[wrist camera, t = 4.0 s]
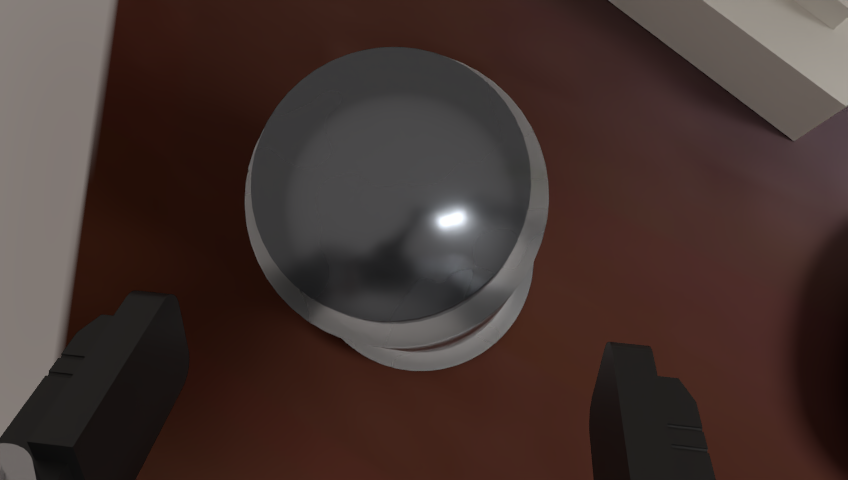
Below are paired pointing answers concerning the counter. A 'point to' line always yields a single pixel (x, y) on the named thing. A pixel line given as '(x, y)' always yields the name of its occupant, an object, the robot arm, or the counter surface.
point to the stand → (761, 52)
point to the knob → (399, 206)
